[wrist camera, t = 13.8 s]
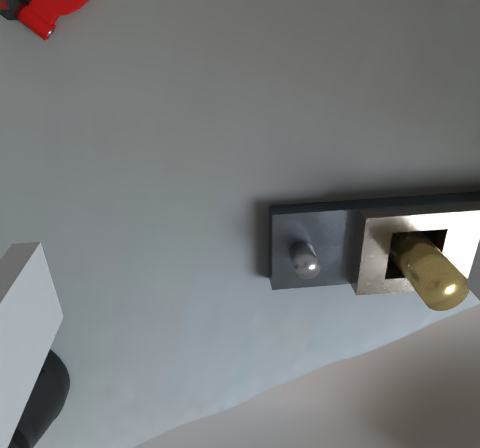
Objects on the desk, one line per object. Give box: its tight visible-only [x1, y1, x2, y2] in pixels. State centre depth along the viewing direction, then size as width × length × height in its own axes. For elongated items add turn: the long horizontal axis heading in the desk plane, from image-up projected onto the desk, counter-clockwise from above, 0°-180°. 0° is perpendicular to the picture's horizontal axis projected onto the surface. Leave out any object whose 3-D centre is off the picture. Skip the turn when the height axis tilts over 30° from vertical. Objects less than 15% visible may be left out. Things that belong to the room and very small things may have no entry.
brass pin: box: [389, 231, 469, 311], centre depth 40 cm, size 4×4×10 cm
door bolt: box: [269, 192, 480, 295], centre depth 41 cm, size 26×9×7 cm, turn 92°
